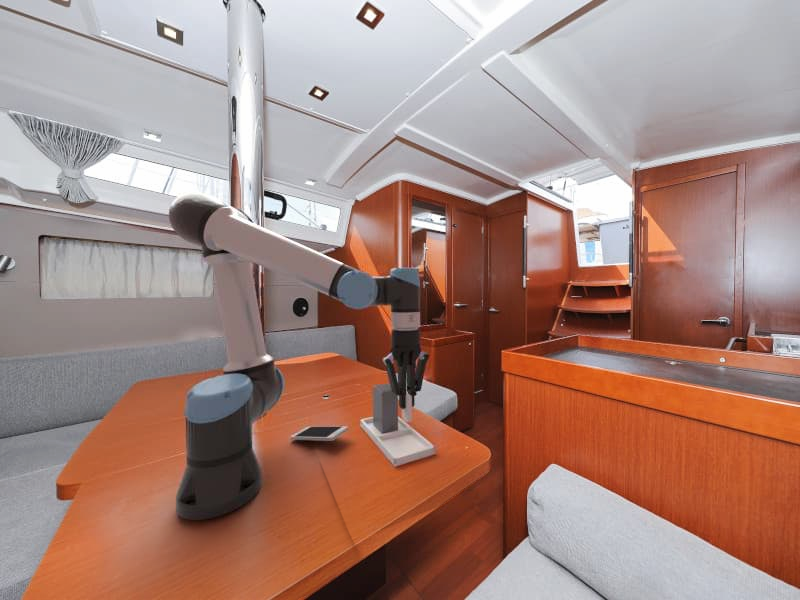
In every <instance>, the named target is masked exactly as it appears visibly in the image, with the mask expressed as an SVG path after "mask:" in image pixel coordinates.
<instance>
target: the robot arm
mask: <svg viewBox="0 0 800 600" xmlns="http://www.w3.org/2000/svg"><path fill="white" fill-rule="evenodd" d="M168 220H169V223H170V227H171V228H172V230H173V231H174V232H175V233H176V234H177V235H178V236H179V237H180V238H181V239H183V240H184V241H186V242H188V243H190V244H193V245H197V246H199V247H201V252H202V256H203V261H204V262H205V263H207V264H208V265H209V266H211V267H212V270H213V271H212V272H213V278H214V284H215V291H216V295H217V300H218V307H219V312H220V318H221V325H222V329H223V335H224V341H225V346H226V353H227V359H228V362H227V363H226V364H225V366H224V367H223V368H222V370H223V374H219V375H216V376H215V377H209V378H207V379H205V380H201V381H200V382H198V383H196V384H195V385H193V386H192V387H191V388H190V389H189V390H188V392H187V394H186V399H185V407H184V417H185V440H186V441H185V442H186V444H185V445H186V446H185V447H186V449H185V450H186V467H185V469H184V472H183V475H182V478H181V480H180V484H179V487H178V489H177V493H176V496H175V510H176V513H177V515H178V516H179V517H180V518H183V519H185V520H189V521H202V520H209V519H214V518H217V517H220V516H222V515H226V514H227V513H230V512H232V511H234V510H236V509H238V508H240V507H242V506H243V505H245V504H246V503H247V502H248V501H250V500H251V499H252V498H254V496H255V495H257V493H258V491H260V489H261V487H262V483H263V475H262V474H263V472H262V468H261V465H260V463H259V461H258V458H257V456H256V454H255V450H254V449H253V448H254V446H253V424H255V422H256V421H258V419H260V418H261V417H262V416H263V415H264V414H266V412H268V411H271V409H273V407H274V406H276V405H277V403H278V402H279V400H280V398H281V397H282V396H283V393H284V391H285V385H286V384H285V378H284V374H283V373H282V371H281V370H280V369H278V368H277V366H276V365H275V359H274V356H272V355H270V354H268V353H267V350H266V343H265V338H264V332H263V325H262V321H261V314H260V311H259V310H260V309H259V304H258V298H257V291H256V285H255V281H254V275H253V268H252V263H254V264H255V265H258V266H260V267H262V268H265V269H267V270H270V271H272V272H274V273H276V274H278V275H280V276H282V277H285V278H288V279H290V280H292V281H295V282H297V283H299V284H301V285H304V286H306V287H308V288H311V289H313V290H314V291H316V292H319V293H322V294H324V295H326V296H328V297H331V298H332V299H334V300H336V301H339V302H341V303H343V305H345V306H346V307H348V308H352V309H353V310H363V309H365V308H368V307H377V306H380V307H381V306H384V307H385V306H387V307H388V306H390V327H391V328H392V329H391V331H390V332H391V333H390V334H391V335H390V336H391V338H390V339H391V340H390V341H391V349H390V351H389V353H388V355H387V356H383V357H382V359H381V361H382V363H383V364H384V366H385V369H386V374H387V376H388V382H389V385H390V386H391V390H392V392H393V393H394V394H396V395H397V396H398V408H400V409H401V419H402V420H403V421H404V422H406V423H411V422H413V407H415V397H416V396H417V394H418V393H417V392H421V391H422V387H423V381H424V378H425V377H424V376H425V371H426V365H427V362H428V360H429V358H430V354H429V353H427V352H424V351H422V347H421V338H422V337H421V330H420V327H421V282H420V271H419V270H418V269H417V268H415V267H394V268H391V269H390V273H389V275H387V276H386V275H385V276H373V275H371V274H369V273H368V272H365V271H363V270H360V269H356V268H355V267H353V266H350V265H347V264H345V263H343V262H341V261H339V260H336V259H335V258H332V257H330V256H327V255H325V254H323V253H322V252H318V251H316V250H314V249H312V248H310V247H307V246H305V245H303V244H301V243H298V242H296V241H294V240H291V239H289V238H288V237H285V236H284V235H280V234H278V233H276V232H274V231H271V230H270V229H267V228H265V227H262V226H261V225H258V224H257V223H256V222H255V221H254V219H252V218H251V217H250V216H249V215H248V214H247V213H245V212H244V211H243V210H241V209H239V208H236V207H233V206H231V205H230V204H227V203H226V202H224V201H223V200H221V199H219V198H218V197H215V196H213V195H211V194H208V193H204V192H200V191H191V192H190V191H189V192H187V193H183V194H181V195H179V196H178V197H176V198H175V199H174V200H173V201H172V203H171V204H170V206H169V209H168ZM394 361H395V363H396V368H397V373H396V369H395V365H394V364H395V363H394Z"/></svg>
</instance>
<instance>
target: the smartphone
mask: <svg viewBox="0 0 800 600" xmlns="http://www.w3.org/2000/svg"><path fill="white" fill-rule="evenodd" d="M347 431H349V426H347V425H346V426H344V425H343V426H339V425H337V426H335V425H332V426H330V425H329V426H326V425H325V426H323V425H321V426H319V425H318V426H312V425H311V426H306V427H305V428H302V429H300V430H299V431H297V432H296V433H293V434H292V435H290V436H289V438H290V440H291V441H292V440H293V441H294V440H295V441H319V442H320V441H325V442H332V441H335V440H336V439H337V438H339V437H340V436H342V435H343V434H345V433H346V432H347Z"/></svg>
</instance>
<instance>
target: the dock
mask: <svg viewBox="0 0 800 600" xmlns="http://www.w3.org/2000/svg"><path fill="white" fill-rule="evenodd" d="M359 421H360V423H359V425H360V428H362V429H363V430H364V432H365V433H366V434H367V435H368V436H369V438H370V439H371V440H372V441H373V443H374V444H375V445H376V446H377V447H378V449H379V450H380V451H381V452H382V453H383V455H384V456H385V457H386V458H387V459H388V461H390V463H391V464H392V465H393V467H394V468H396V467H399V466H401V465H402V466H403V465H405V464H407V463H411V462H414V461H417V460H421V459H425V458H427V457H430V456H433V455H436V446H435V445H434V444H432V443H431V442H430V441H429V440H427V439H426V438H425V437H424V436H423V435H422V434H421V433H419V432H418V431H416V430H415V429H414V428H413V427H411V426H410V424H408V422H406V421H404V420H403V419H402V417H400V416H399V395H398V396H397V395H396V394H394V393H393V392H392V390H391V386H390V383H383V384H382V383H381V384H376V385H375V384H374V385H372V417H366V418H362V419H360V420H359Z"/></svg>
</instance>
